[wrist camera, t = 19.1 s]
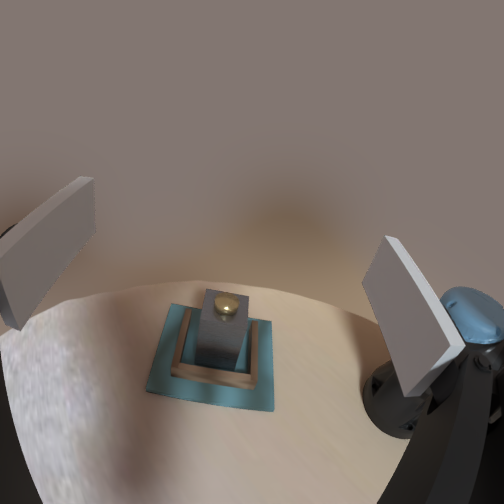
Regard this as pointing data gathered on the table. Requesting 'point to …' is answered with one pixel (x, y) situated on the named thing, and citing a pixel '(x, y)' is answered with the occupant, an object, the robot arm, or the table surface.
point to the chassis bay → (207, 378)
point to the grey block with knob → (221, 329)
